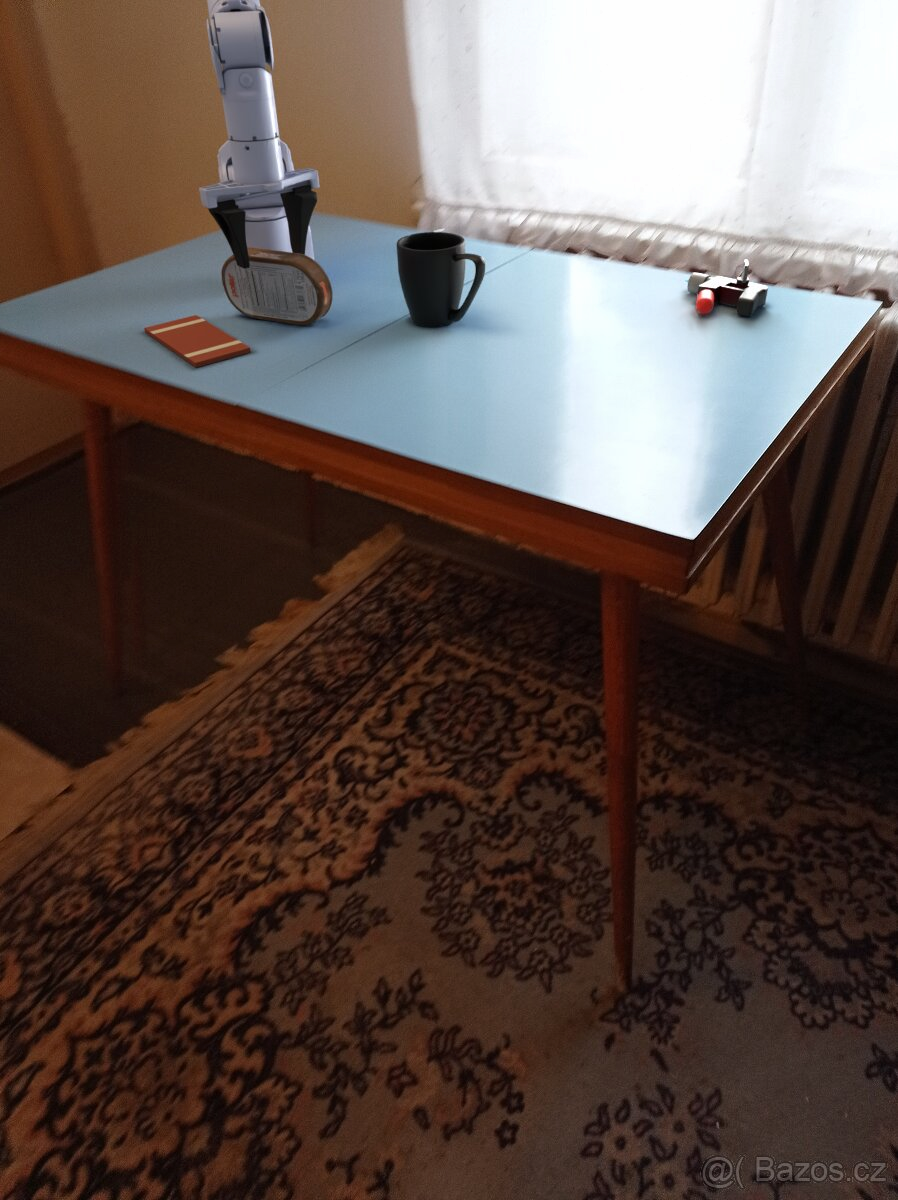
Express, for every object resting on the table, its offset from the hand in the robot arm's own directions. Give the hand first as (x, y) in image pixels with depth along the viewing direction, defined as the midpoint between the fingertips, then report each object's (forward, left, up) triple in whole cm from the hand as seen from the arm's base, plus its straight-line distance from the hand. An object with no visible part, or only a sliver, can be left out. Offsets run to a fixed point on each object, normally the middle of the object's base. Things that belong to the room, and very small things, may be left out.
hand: (271, 260), depth 111 cm
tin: (0, 0, -8) cm, 8 cm away
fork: (-30, -7, -8) cm, 32 cm away
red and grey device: (-44, +33, -8) cm, 55 cm away
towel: (+11, 0, -7) cm, 14 cm away
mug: (-15, +15, -8) cm, 23 cm away
